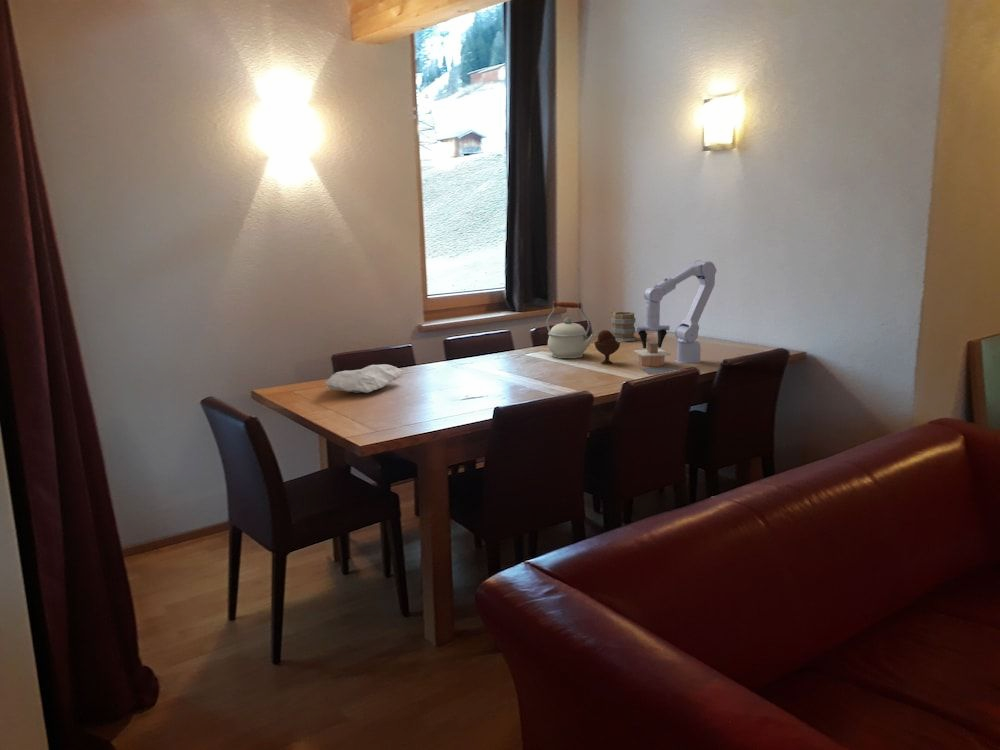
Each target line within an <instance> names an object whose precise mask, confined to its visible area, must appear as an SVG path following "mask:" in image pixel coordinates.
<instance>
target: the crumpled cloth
mask: <svg viewBox="0 0 1000 750" xmlns="http://www.w3.org/2000/svg"><path fill="white" fill-rule="evenodd" d="M403 373H404V371H403V369H401V368H398V367H397V366H393V365H391V364H385V363H383V364H371V365H370V364H369V365H367V366H365V367H363V368H361V369H354V370H353V369H351V370H342V371H337V372H334V374H332V375H331V376H330V377H328V380H326V381H325V382H324V385H325V386H326V387H327V388H328V389H330V390H334V391H342V392H346V393H347V392H348V393H351V392H352V393H354V394H359V393H366V394H367V393H371V392H373V391H376V390H378V389H381V388H384V387H386V386H387V385H389V384H390V383H392V382H394V381H396V380H398V379H399V378H401V376H403Z"/></svg>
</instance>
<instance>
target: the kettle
mask: <svg viewBox="0 0 1000 750" xmlns="http://www.w3.org/2000/svg"><path fill="white" fill-rule="evenodd" d="M583 304H584V303H583V302H578V303H577V302H572V301H571V302H570V301H556V300H555V301H552V311H551V312H550V313H549V314H548V316H547V317H546V321H545V323H546V325H545V326H546V328H547V330H548V331H547V332H548V333H547V335H548V339H547V348H548V350H549V352H551V356H552V357H553V356H554V357H553V358H556V357H558V358H557V359H562V358H573V359H580V358H582V357H584V353H585V352H586V351H587V348H588V347H590V345H592V342H593V341H594V339H595V337H596V334H595V333H591V334H590V336H588V333H589V331H590V327H591V324H590V323H591V322H590V320H589V318H588V316H586V314H585V312H584V308H583V307H584V305H583ZM557 307H559V308H568V309H569V308H570V309H577V308H578V309H580V312H581V315H582V316H583V317H584V318H585V320H586V322H587V329H586V330H585V328H584V326H582V325H581V324H580V323H575V322H572V321H573V320H572V318H570V317H568V316H567V317H565V318H563V322H561V323H556V324H555V325H554V326H552V327H551V328H550V325H549V319H550V318H551V315H552V314H553V313H554V312H555V310H556V309H555V308H557ZM579 357H580V358H579Z"/></svg>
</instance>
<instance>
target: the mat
mask: <svg viewBox="0 0 1000 750" xmlns="http://www.w3.org/2000/svg"><path fill="white" fill-rule="evenodd" d="M639 369H640V371H643V372H645V373H646V374H648V376H649V375H650V376H651V375H661V374H660V373H665V372H669V371H673V370H679V369H681V368H680V367H678V366H662V367H661V366H657V367H645V368H644V367H643V368H642V367H641V368H639Z"/></svg>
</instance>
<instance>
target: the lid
mask: <svg viewBox="0 0 1000 750" xmlns="http://www.w3.org/2000/svg"><path fill="white" fill-rule="evenodd" d="M633 352H634V353H636V354H638V356H639V355H641V356H643V357H647V356H671V355H672V354H671V353H670V352H668V351H666V350H663V349H662V348H659V347H658V342H655V341H646V349H634V350H633Z"/></svg>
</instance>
